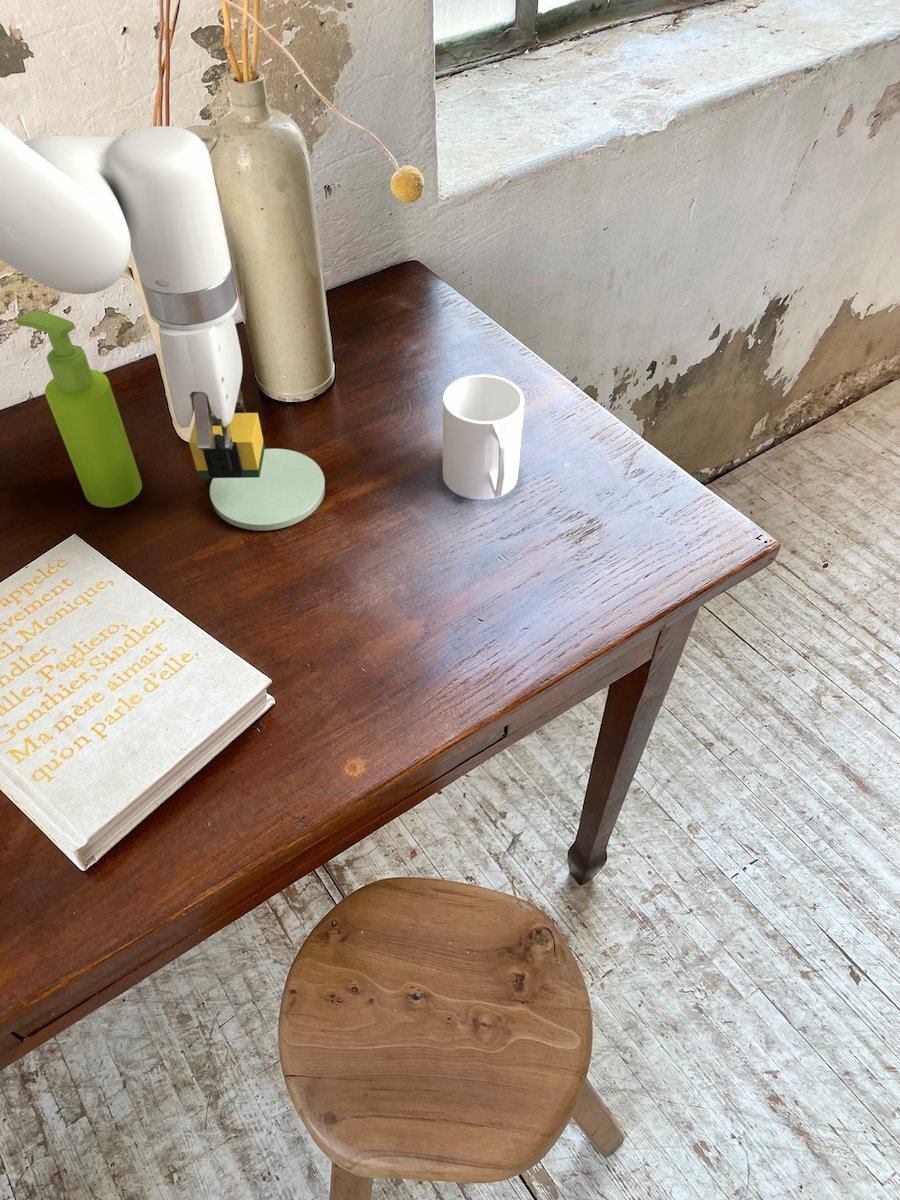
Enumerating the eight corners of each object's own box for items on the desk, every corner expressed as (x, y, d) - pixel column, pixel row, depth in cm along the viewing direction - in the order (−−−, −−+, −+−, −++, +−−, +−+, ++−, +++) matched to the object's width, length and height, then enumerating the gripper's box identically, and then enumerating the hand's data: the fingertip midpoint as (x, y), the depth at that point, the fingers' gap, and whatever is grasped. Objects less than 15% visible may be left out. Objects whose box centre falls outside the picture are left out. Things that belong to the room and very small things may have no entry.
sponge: (198, 478, 89) (188, 442, 85) (206, 449, 92) (196, 413, 88) (259, 477, 89) (252, 441, 85) (265, 448, 92) (257, 412, 88)
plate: (203, 533, 92) (200, 524, 91) (220, 456, 100) (218, 448, 99) (321, 532, 92) (320, 524, 91) (329, 456, 100) (328, 447, 99)
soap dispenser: (102, 462, 99) (42, 295, 84) (153, 481, 97) (101, 314, 82) (65, 494, 95) (-5, 326, 80) (117, 514, 93) (56, 346, 78)
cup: (460, 529, 93) (462, 453, 85) (435, 455, 100) (435, 379, 93) (537, 518, 94) (545, 442, 86) (506, 445, 101) (512, 370, 94)
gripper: (164, 241, 81) (206, 406, 95) (124, 349, 70) (177, 518, 84) (247, 240, 82) (277, 405, 95) (220, 348, 70) (258, 516, 84)
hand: (230, 456), depth 90 cm, fingers closed on sponge, 4 cm apart
